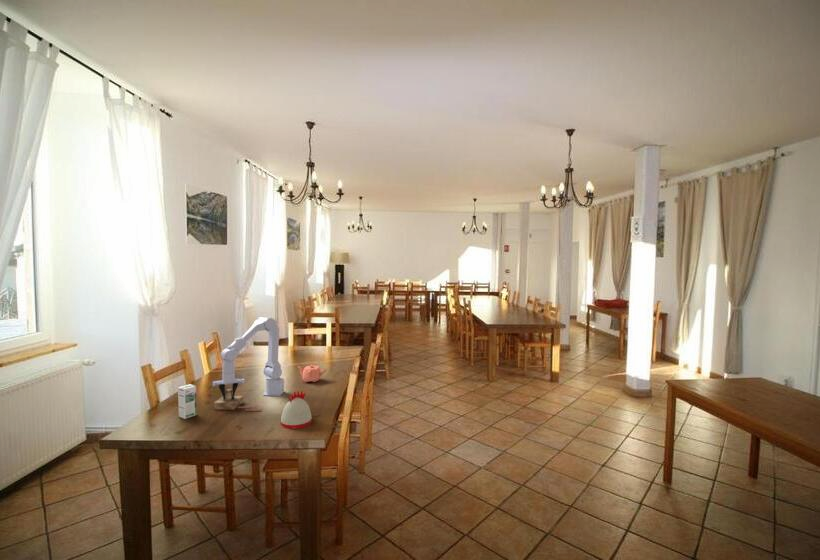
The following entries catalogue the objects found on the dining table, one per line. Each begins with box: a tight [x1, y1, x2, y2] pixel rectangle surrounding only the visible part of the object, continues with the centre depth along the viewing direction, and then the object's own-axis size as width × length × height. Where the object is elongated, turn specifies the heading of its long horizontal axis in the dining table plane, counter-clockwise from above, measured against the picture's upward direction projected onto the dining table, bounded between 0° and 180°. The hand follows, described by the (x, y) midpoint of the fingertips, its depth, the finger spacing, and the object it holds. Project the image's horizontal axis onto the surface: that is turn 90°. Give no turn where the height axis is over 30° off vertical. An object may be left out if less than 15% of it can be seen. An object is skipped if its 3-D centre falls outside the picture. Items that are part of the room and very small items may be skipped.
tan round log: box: [225, 388, 233, 401], centre depth 200 cm, size 3×3×8 cm
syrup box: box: [177, 383, 198, 420], centre depth 186 cm, size 6×6×14 cm
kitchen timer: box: [280, 389, 313, 430], centre depth 181 cm, size 14×14×15 cm
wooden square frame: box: [213, 395, 244, 411], centre depth 200 cm, size 10×10×4 cm
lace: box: [235, 406, 263, 412], centre depth 196 cm, size 15×4×1 cm, turn 88°
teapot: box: [297, 364, 327, 383], centre depth 243 cm, size 14×12×10 cm
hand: (228, 398), depth 200 cm, fingers open, 3 cm apart
